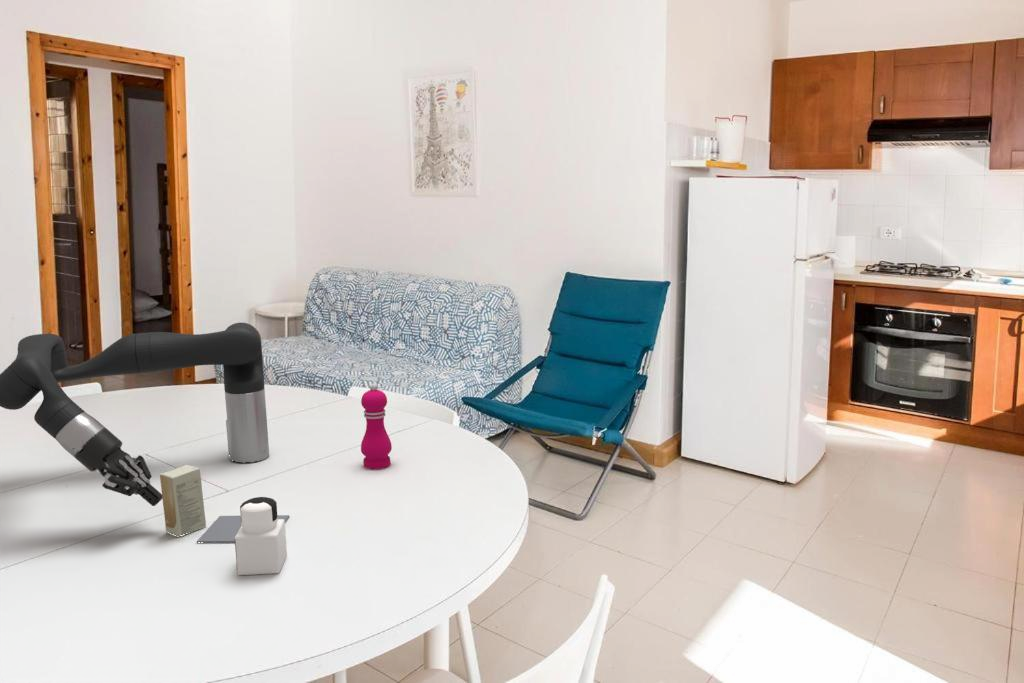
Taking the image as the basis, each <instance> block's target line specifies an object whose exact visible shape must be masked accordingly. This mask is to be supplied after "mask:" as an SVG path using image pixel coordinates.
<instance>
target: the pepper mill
mask: <svg viewBox="0 0 1024 683" xmlns="http://www.w3.org/2000/svg"><path fill="white" fill-rule="evenodd" d="M360 403H361V406H362V408H363V409H364V411H363V414H364V415H363V417H364V419H365V421H366V428H365V432H364V435H363V438H362V441H361V444H360V451H361V454H362V455H363V456H364V458H363V467H364V468H365V469H368V470H374V469H376V470H382V469H386V468H388V467H390V466H389V465H391V456H389V455H390V453H391V451H392V448H393V447H392V441H391V438H390V436H389V434H388V433H387V431H386V427H385V422H384V420H385V417H386V410H385V407H386V406H387V405H388V398H387V395H386V393H385V392H384V391H382V390H380V389H378V385H377V384H376V383H371V384H370V385H369V390H367V391H365V392H364V393H363V394H362V396H361V399H360Z"/></svg>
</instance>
